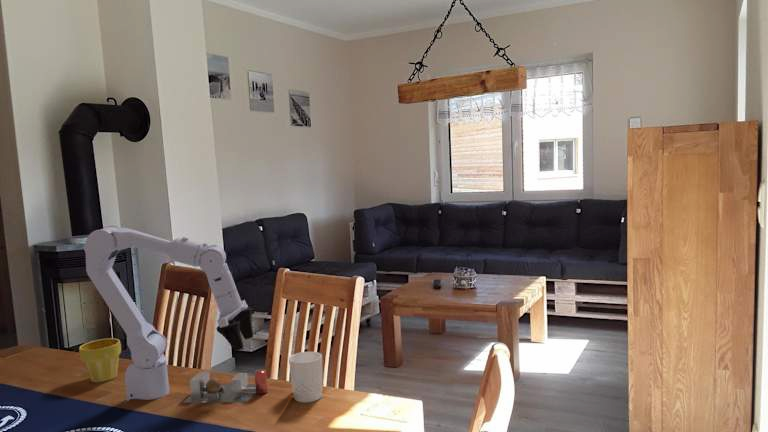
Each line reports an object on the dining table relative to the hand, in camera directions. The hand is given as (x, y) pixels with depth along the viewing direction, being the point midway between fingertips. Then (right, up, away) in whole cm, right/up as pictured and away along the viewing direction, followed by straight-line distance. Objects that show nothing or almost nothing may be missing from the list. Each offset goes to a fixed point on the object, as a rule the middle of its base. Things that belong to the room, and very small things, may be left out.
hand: (244, 343), depth 151 cm
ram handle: (+3, -11, -4) cm, 12 cm away
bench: (-4, -12, -3) cm, 14 cm away
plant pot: (-42, -13, +15) cm, 47 cm away
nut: (-7, -11, -3) cm, 14 cm away
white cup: (+17, -12, -6) cm, 21 cm away
